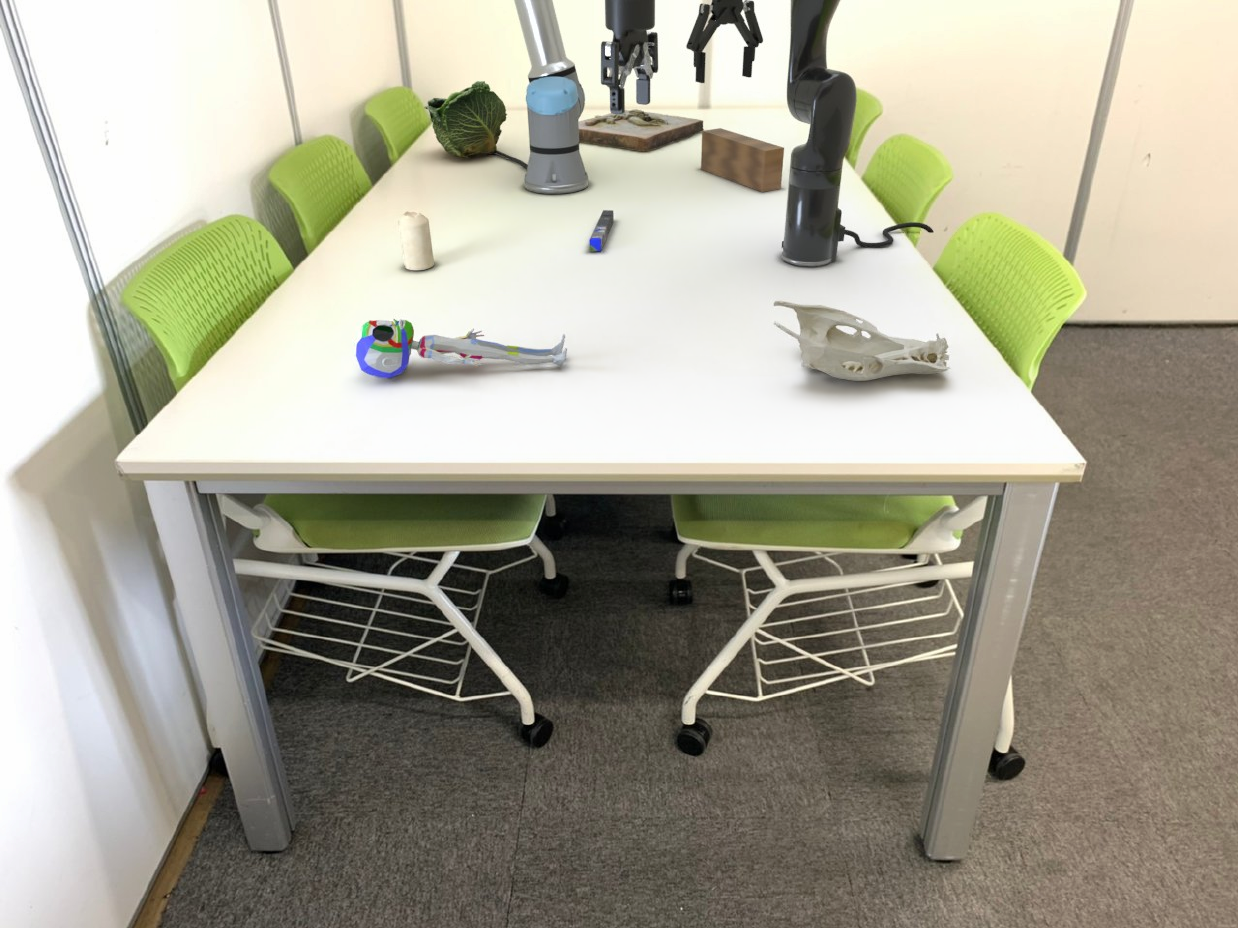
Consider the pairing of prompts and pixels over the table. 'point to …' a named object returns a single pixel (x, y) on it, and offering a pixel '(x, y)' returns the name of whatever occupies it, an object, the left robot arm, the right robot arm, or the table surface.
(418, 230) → the candle
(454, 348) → the toy
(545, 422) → the table surface
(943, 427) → the table surface
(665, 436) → the table surface
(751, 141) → the bar
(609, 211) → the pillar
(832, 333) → the anatomical model
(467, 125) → the vegetable
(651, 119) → the plaque
